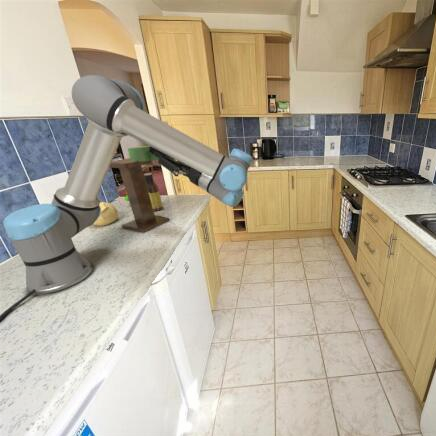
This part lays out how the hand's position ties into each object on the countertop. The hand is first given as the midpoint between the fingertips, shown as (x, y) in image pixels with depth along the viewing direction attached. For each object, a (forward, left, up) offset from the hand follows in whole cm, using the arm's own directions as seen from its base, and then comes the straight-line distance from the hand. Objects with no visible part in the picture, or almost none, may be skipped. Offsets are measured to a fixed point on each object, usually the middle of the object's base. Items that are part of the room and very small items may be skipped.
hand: (155, 147), depth 92 cm
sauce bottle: (+18, +32, -36) cm, 52 cm away
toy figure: (0, +3, -5) cm, 6 cm away
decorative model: (+22, +50, -36) cm, 66 cm away
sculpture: (-4, +41, -36) cm, 55 cm away
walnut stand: (+2, +20, -36) cm, 42 cm away
